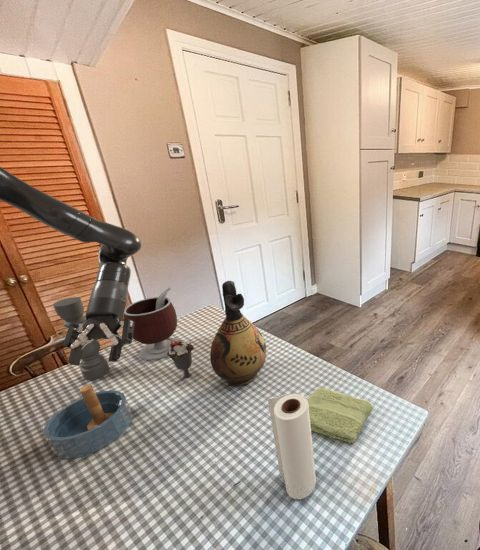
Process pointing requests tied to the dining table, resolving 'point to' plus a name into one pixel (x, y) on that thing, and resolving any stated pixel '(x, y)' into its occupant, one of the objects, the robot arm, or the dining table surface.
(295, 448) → the paper towel roll
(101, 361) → the candle holder
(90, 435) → the bowl
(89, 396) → the wooden stamp
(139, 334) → the mate gourd
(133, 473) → the dining table surface
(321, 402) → the washcloth
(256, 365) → the ceramic jug
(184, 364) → the sundae
